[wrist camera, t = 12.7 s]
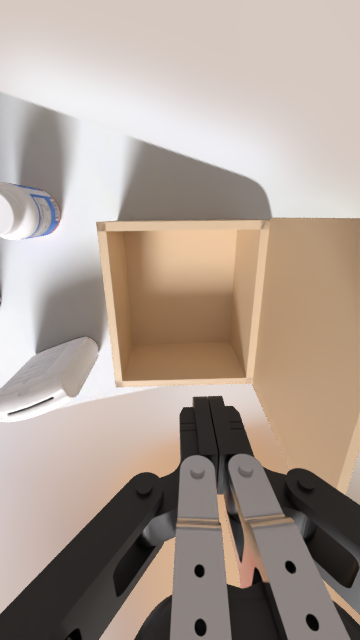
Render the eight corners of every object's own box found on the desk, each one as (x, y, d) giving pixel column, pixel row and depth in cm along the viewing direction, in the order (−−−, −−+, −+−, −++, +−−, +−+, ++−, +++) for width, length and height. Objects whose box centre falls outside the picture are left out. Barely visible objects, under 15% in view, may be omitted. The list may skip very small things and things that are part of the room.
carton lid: (320, 541, 16) (421, 539, 16) (417, 219, 9) (592, 217, 9) (252, 384, 31) (304, 384, 31) (270, 217, 24) (337, 217, 24)
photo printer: (45, 376, 41) (-4, 438, 30) (29, 354, 40) (-28, 410, 28) (104, 355, 40) (77, 410, 29) (90, 331, 39) (56, 379, 27)
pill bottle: (9, 217, 33) (-53, 217, 24) (28, 178, 31) (-30, 162, 22) (49, 244, 34) (5, 254, 25) (70, 208, 32) (31, 205, 23)
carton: (128, 347, 40) (116, 387, 30) (117, 220, 33) (96, 222, 24) (233, 344, 40) (252, 383, 31) (242, 219, 34) (270, 220, 24)
